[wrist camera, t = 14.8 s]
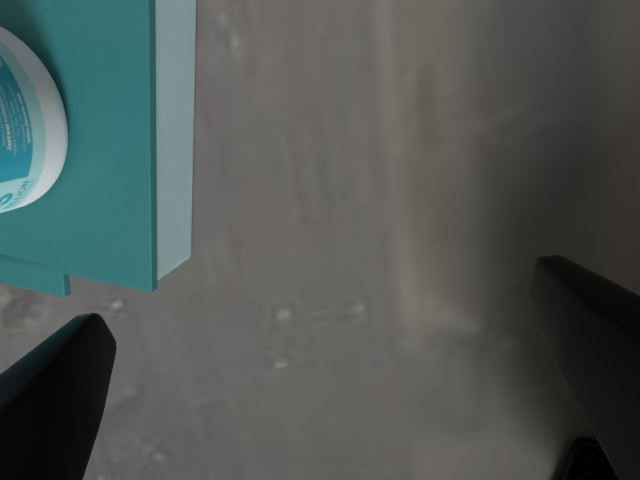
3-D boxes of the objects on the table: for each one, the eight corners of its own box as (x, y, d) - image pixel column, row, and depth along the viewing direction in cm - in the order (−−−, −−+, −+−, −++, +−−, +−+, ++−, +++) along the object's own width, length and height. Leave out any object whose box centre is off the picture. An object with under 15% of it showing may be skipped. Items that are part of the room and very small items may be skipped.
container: (194, 281, 23) (151, 317, 20) (-7, 240, 25) (-80, 265, 21) (201, -7, 19) (148, -33, 15) (-44, -31, 21) (-145, -58, 17)
